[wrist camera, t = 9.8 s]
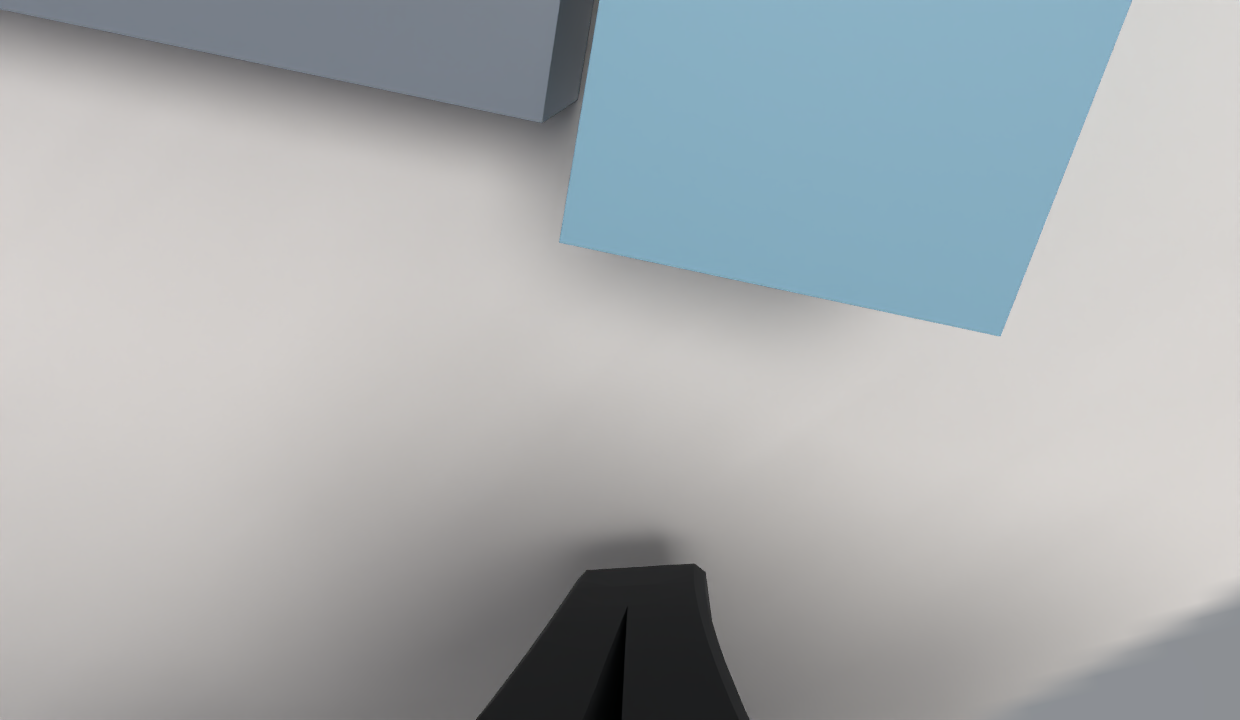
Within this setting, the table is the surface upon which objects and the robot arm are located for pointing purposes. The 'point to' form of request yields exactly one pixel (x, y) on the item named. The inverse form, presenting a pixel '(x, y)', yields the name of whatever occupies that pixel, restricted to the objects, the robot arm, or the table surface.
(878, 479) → the table surface
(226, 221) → the table surface
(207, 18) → the grey holder tray
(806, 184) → the light blue rectangular block
